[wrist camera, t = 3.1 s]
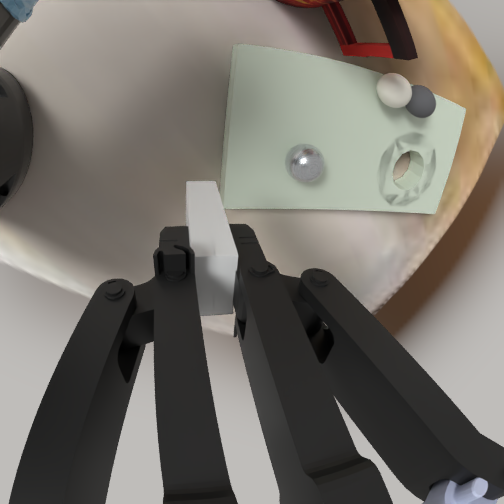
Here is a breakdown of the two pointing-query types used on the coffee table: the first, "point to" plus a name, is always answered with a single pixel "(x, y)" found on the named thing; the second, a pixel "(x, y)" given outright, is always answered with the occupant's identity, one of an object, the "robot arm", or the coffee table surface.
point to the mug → (396, 48)
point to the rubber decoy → (421, 102)
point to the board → (328, 137)
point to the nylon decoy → (394, 90)
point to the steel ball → (304, 163)
